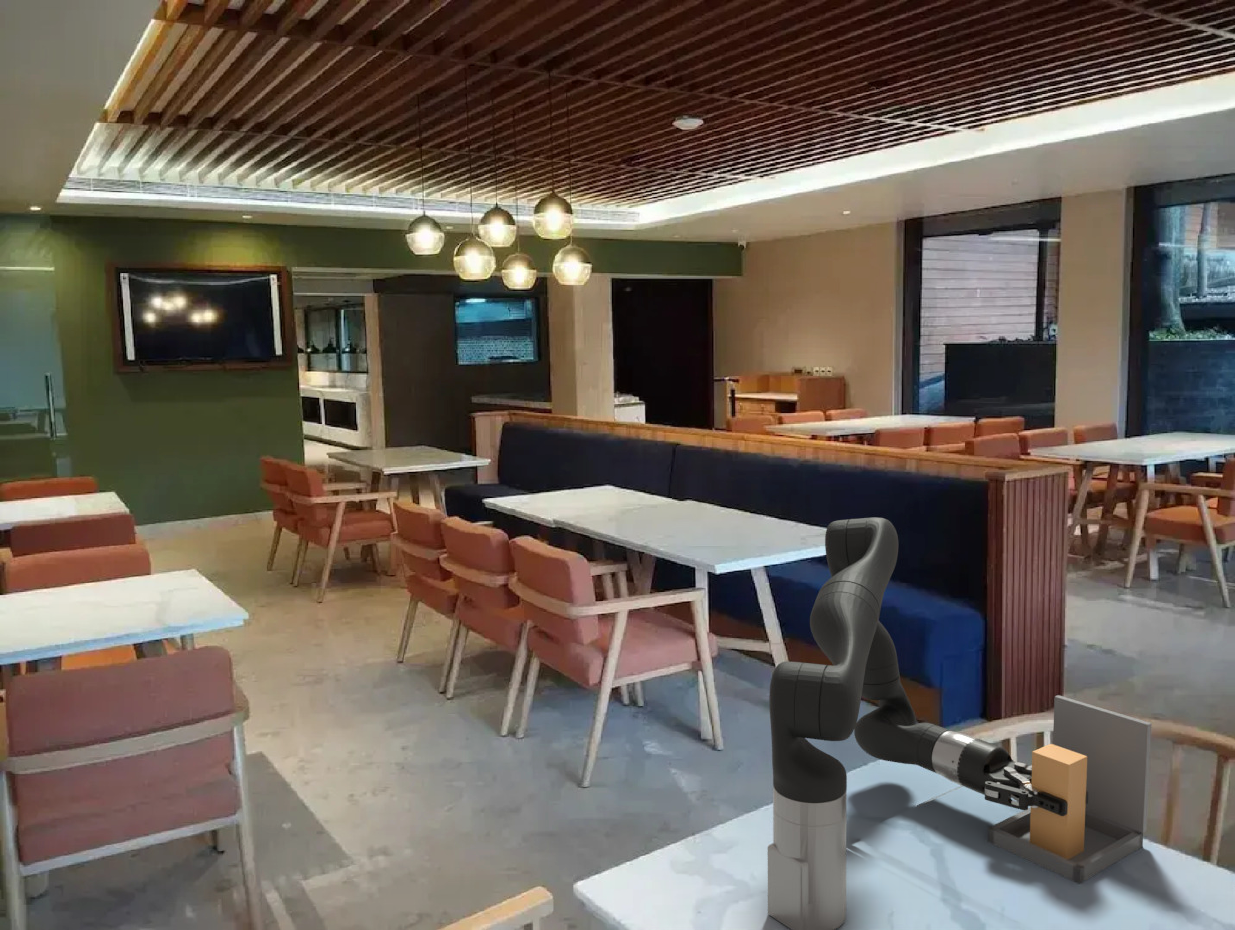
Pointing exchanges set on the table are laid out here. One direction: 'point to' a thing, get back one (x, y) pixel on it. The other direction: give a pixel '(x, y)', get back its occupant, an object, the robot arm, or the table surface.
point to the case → (1094, 790)
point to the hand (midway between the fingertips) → (1076, 803)
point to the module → (1065, 780)
